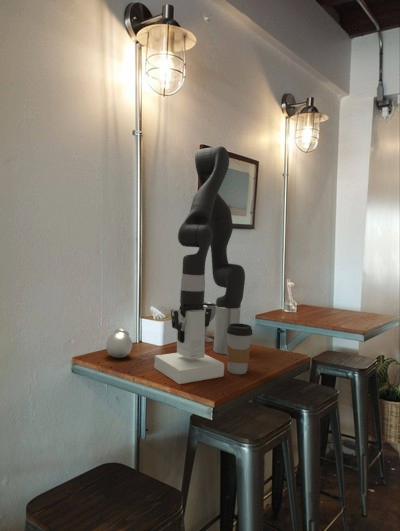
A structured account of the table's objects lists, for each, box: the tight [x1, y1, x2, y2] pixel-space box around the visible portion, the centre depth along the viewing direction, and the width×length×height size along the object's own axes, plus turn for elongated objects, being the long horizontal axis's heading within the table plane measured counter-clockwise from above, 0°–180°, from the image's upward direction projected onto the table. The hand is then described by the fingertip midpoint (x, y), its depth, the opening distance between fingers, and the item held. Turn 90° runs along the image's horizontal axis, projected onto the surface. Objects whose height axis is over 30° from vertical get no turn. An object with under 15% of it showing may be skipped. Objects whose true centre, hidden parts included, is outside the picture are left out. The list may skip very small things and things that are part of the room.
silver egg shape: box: [105, 327, 133, 359], centre depth 145 cm, size 9×10×10 cm
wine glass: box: [203, 301, 216, 343], centre depth 174 cm, size 8×8×15 cm
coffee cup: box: [226, 323, 253, 375], centre depth 137 cm, size 8×8×15 cm
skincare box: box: [176, 310, 206, 359], centre depth 133 cm, size 8×6×15 cm
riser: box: [154, 352, 225, 385], centre depth 134 cm, size 16×16×4 cm
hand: (190, 340), depth 133 cm, fingers closed on skincare box, 6 cm apart
